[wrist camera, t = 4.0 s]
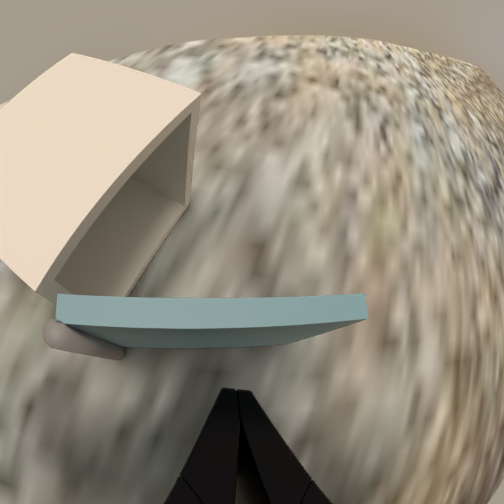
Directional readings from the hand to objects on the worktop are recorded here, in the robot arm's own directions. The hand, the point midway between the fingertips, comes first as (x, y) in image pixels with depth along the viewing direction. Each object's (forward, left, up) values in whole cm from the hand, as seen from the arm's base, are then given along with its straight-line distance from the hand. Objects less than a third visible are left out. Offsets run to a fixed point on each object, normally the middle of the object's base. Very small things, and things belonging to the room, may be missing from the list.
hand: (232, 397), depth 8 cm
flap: (+2, +1, -7) cm, 7 cm away
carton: (+7, +8, -7) cm, 13 cm away
